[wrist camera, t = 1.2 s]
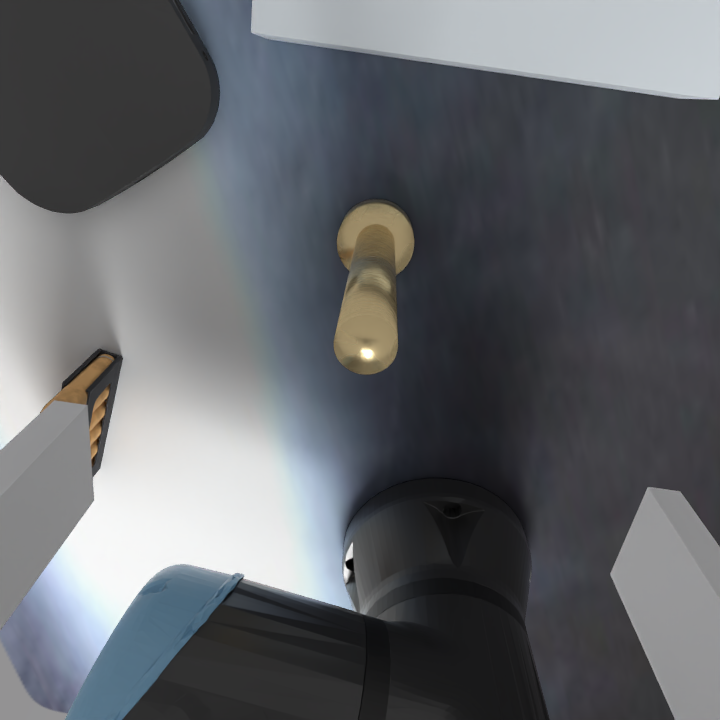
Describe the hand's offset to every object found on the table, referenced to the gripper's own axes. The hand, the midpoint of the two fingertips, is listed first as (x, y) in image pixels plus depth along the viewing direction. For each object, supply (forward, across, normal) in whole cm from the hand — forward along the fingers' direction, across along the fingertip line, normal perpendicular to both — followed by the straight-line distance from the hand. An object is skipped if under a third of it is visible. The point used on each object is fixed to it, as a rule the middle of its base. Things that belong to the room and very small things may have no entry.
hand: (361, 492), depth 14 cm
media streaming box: (+27, +19, -7) cm, 34 cm away
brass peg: (+27, 0, 0) cm, 27 cm away
